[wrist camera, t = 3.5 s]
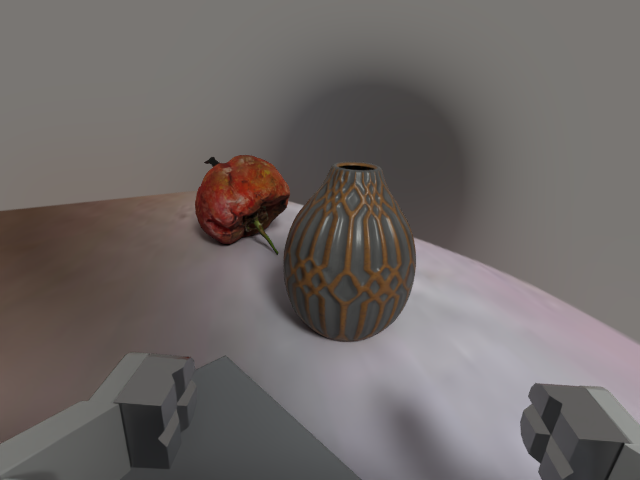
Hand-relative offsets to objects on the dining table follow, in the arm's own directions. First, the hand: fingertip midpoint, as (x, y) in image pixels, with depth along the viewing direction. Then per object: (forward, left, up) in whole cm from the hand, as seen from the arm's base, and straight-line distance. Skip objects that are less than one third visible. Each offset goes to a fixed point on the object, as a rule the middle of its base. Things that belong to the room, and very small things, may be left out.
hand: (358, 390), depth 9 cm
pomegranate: (-21, +11, -6) cm, 24 cm away
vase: (-7, +8, -6) cm, 13 cm away
